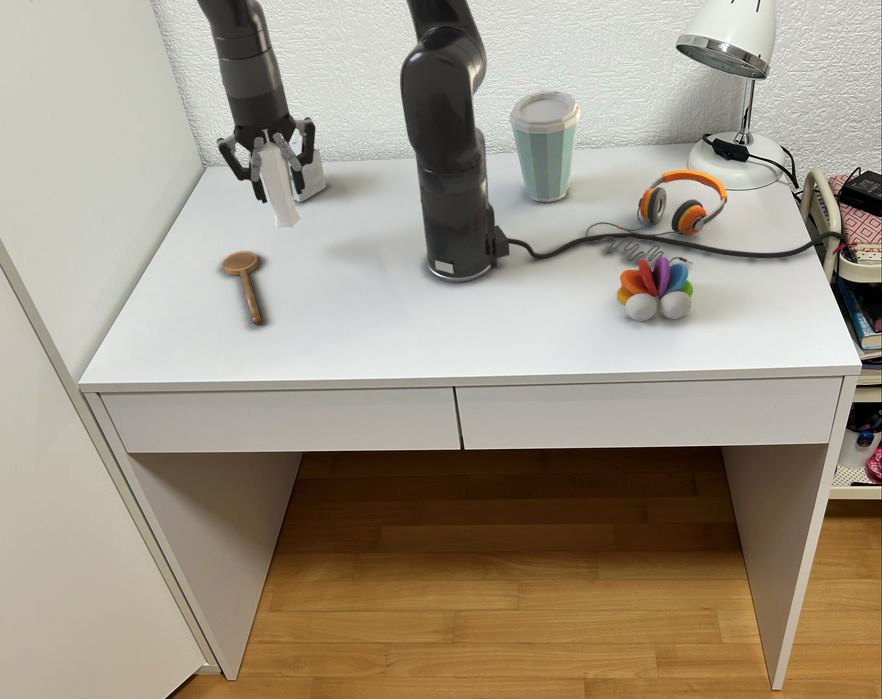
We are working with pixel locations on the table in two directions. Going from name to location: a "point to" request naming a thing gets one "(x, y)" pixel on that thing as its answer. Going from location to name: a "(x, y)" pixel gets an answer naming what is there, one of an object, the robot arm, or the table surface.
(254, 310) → the wooden spoon
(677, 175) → the headphones
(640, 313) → the rainbow petal fan toy
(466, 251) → the robot arm
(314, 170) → the product carton
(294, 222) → the perfume bottle
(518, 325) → the table surface
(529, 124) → the disposable coffee cup
